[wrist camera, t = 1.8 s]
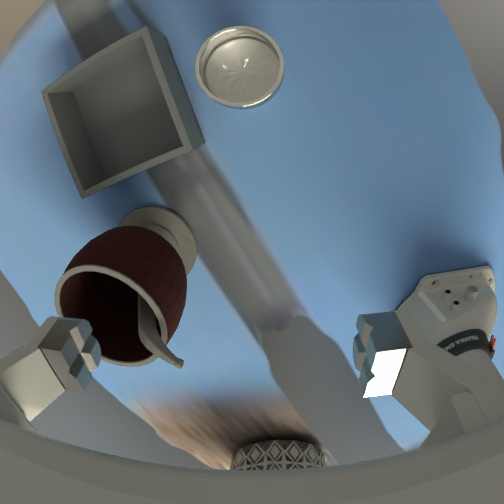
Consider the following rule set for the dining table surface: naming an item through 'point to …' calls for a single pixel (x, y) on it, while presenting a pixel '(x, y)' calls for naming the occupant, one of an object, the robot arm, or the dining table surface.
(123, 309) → the mate gourd
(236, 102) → the beer glass
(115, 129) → the bin
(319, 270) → the dining table surface
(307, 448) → the planter
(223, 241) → the dining table surface
